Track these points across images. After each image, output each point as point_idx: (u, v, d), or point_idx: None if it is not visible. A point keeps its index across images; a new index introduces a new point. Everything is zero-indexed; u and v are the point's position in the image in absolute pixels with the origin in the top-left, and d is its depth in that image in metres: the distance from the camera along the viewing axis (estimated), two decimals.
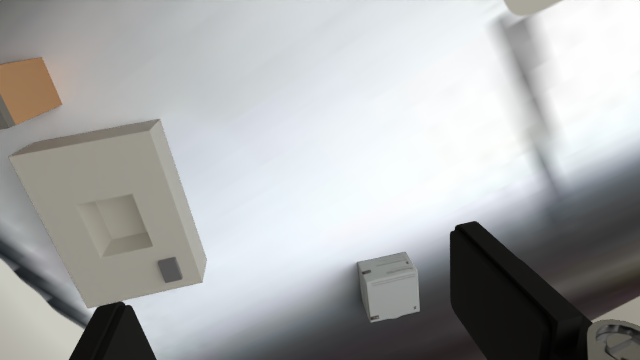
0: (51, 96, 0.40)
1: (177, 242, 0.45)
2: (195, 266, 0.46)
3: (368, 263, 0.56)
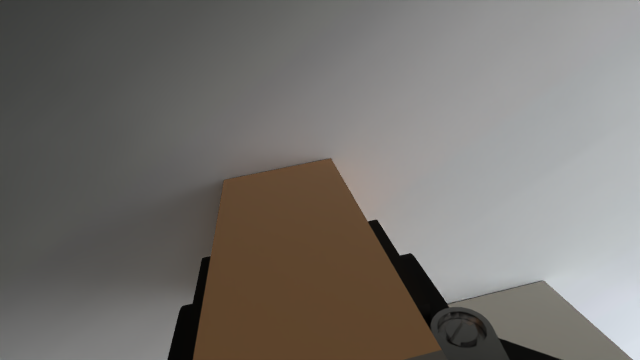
0: None
1: None
2: None
3: None
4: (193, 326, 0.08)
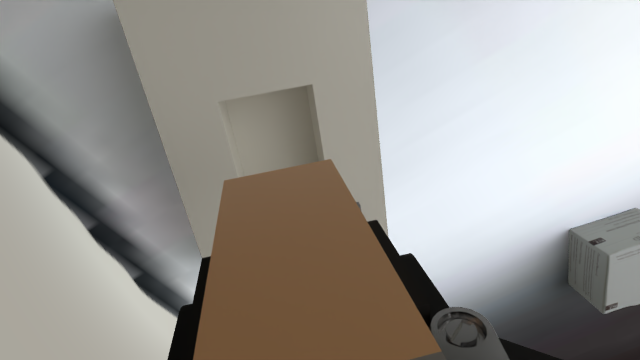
0: None
1: (365, 176, 0.27)
2: (383, 219, 0.29)
3: (589, 229, 0.38)
4: (193, 326, 0.08)
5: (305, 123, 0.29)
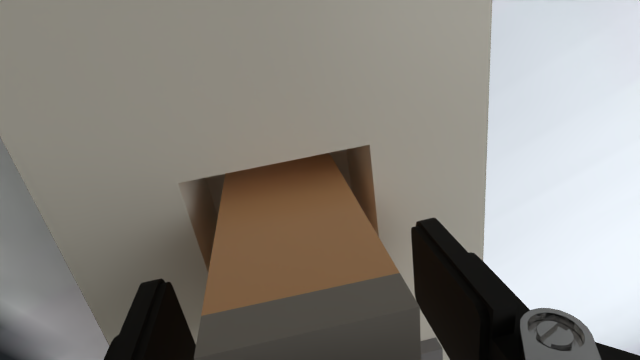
0: None
1: None
2: None
3: None
4: None
5: None
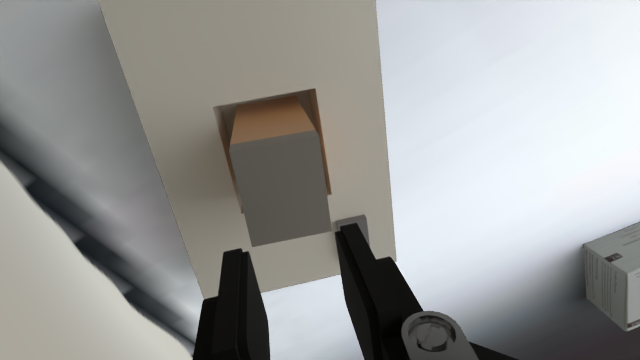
0: None
1: (372, 187, 0.25)
2: (391, 233, 0.27)
3: (604, 243, 0.36)
4: (220, 317, 0.09)
5: None
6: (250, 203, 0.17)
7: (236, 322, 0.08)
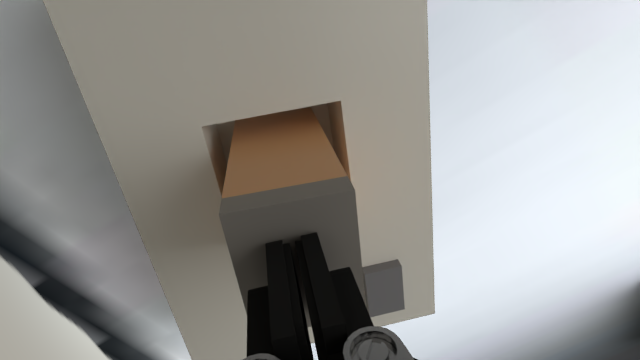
0: None
1: (409, 226, 0.19)
2: (430, 281, 0.21)
3: None
4: (274, 306, 0.09)
5: None
6: (251, 283, 0.12)
7: (291, 310, 0.08)
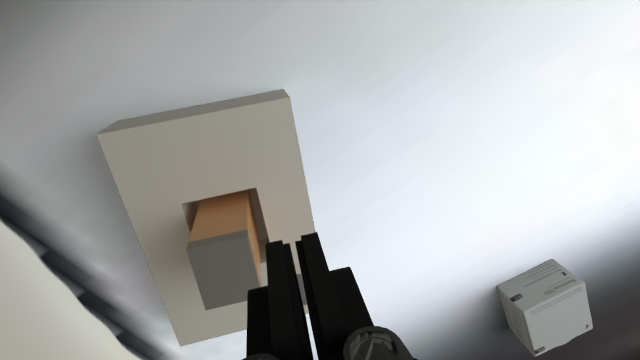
0: (256, 227, 0.34)
1: None
2: None
3: (512, 284, 0.44)
4: (274, 306, 0.09)
5: (258, 207, 0.35)
6: (202, 281, 0.25)
7: (291, 310, 0.08)
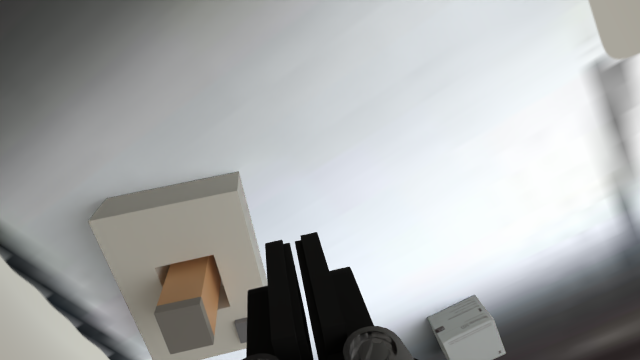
0: (217, 278, 0.43)
1: None
2: None
3: (439, 317, 0.53)
4: (274, 306, 0.09)
5: None
6: (167, 335, 0.34)
7: (291, 310, 0.08)
